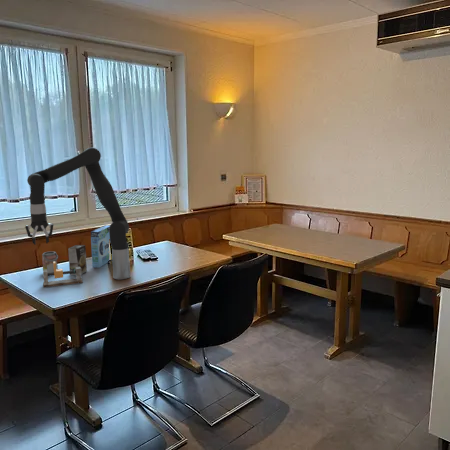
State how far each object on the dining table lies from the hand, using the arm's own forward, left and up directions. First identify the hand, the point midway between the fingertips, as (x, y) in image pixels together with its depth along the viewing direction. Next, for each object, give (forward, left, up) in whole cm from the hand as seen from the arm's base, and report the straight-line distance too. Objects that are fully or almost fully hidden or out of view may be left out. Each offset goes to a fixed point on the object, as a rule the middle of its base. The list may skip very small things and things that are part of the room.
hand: (40, 243), depth 231 cm
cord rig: (-10, 0, -23) cm, 25 cm away
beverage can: (-4, -24, -24) cm, 34 cm away
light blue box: (-35, -32, -24) cm, 53 cm away
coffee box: (-19, -17, -24) cm, 35 cm away
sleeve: (-8, 0, -19) cm, 21 cm away
